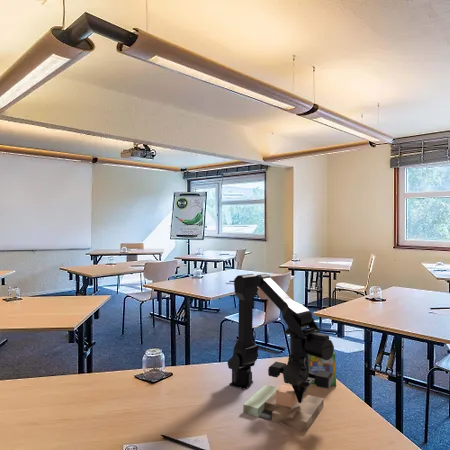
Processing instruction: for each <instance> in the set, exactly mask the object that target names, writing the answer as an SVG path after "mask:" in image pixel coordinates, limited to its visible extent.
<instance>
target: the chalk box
mask: <svg viewBox="0 0 450 450" xmlns="http://www.w3.org/2000/svg"><path fill="white" fill-rule="evenodd" d="M309 366H311V370H310V372H312V373H315V374H317V373H318V372H319V371H320V370H321V371H326V372H331V373H332V375H333V383H332V384H331V386H332V387H337V368H336V367H337V366H336V352H335V351H334V352H333V355H332V357H331V358H330V359H329V360H324V359H321V358H318V357H314V356H311V355H310V357H309ZM311 385H314V386H315V385H316V384H315V380H314V381H313V383H312V384H311ZM311 385H310V386H311ZM331 386H330V387H331Z"/></svg>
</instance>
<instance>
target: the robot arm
mask: <svg viewBox="0 0 450 450" xmlns="http://www.w3.org/2000/svg"><path fill="white" fill-rule="evenodd" d="M233 288H234V294H235V295H236V297H237V299H238V337H237V341H236V342H235V344H234V346H233V350H232V351H233V352H232V356H231V358H229V359H228V360H227V361H226V362H227V367H228V369H230V370H231V382H230V383H229V386H231V387H236V388H240V389H243V390H246V389H248V387H250V386H251V385H252V384H254V381H253V372H252V367H254V366H255V365H256V361H257V359H258V357H259V346H258V345H257V344H256V343H255V342H254V340H253V315H254V314H253V312H254V311H253V307H254V306H253V305H254V304H253V302H254V298H255V296H256V294H257V293H258V289H260V290H261V291H262V292H263V294H265V295H266V296H267V298H268V299H269V300H270V301H271V302H272V303H273V304H274V305H275V307H276V308H278V309H279V311H280V312H281V316H282V319H283V321H284V323H285V324H286V325H287V326H288V328H287V329H286V330H284V332H283V334H285V335H289V355H288V359H287V364H286V363H284V362H281V361H275V362H274V363H272V364H271V365H269V367H268V369H267V372H268V376H269V377H273V378H279V376H280V375H282V376H283V377H282V378H283V382H284V383H285V384H286V385H287V384H289V385H290V386H291V387H293V389H294V391H295V394H296V397H297V400H298V402H299V403H302V400H303V401H304V399H305V394H306V391H307V390H308V387H310V386H311V384H312V383H313V381H314V380H315V384H316V387H318V388H322V389H327V390H328V389H330V387H331V384H332V383H333V375H332V373H331V372H326V371H321V370H320V371H319V372H318V373H317V374H315V373H312V372H310V370H311V366H309V357H310V355H311V356H314V357H318V358H321V359H324V360H329V359H330V358H331V357H332V355H333V352H335V346H334V343H333V341H332V340H331V339H330V335H329V334H323V333H320V332H321V330H320V329H319V327H318V325H317V322H315V320H314V318H313V313H312V312H311V311H310V310H309V309H308V308H307V307H305V306H304V305H303V304H302V303H298V302H297V301H294V300H293V299H292V298H290V296H289V295H288V294H286V292H285V291H284V290H283V289H282V288H281V287H280V286H279V285H278V284H277V283H276V282H275V281H274V280H273V279H272V277H271V275H270V274H267V273H260V274H257V275H255V274H253V273H247V274H240V275H237V276H236V277H235V278H234V279H233ZM305 328H306V329H305Z"/></svg>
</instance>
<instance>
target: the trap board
mask: <svg viewBox="0 0 450 450" xmlns="http://www.w3.org/2000/svg"><path fill="white" fill-rule="evenodd" d="M278 388H279V387H277V386H273V385H269V384H264V385H263V386H262V387H261V388H260V389H258V390H257V392H255V393H254V394H253V395H252V396H251V397H249V399H247V400H246V401H245V402H244V403H243V406H242V407H243V409H242V410H243V411H242V412H243V413H244V414H248V415H250V416H255V417H256V418H257V417H258V418H261V419H264V420H267V421H271V422H274V423H277V424H280V425H281V424H282V425H284V426H288V427H290V428H294V429H298V430H301V431H303V432H308V431H309V429H310V427H311V426H312V424H313V423H314V422H315V420H316V419H317V417H319V416H318V415H319V414H320V412H321V411H322V409H323V408H324V404H325V403H324V398H322V397H318V396H314V395H310V394H307V395H306V397H304V398H303V400H302V403H299V402H298V400H297V402H296V403H295V404H294V405H293V407H292V408H291V407H287V406H283V405H280V404H276V390H277V389H278Z"/></svg>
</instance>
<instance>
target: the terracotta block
mask: <svg viewBox="0 0 450 450" xmlns="http://www.w3.org/2000/svg"><path fill="white" fill-rule="evenodd" d="M296 402H297V397H296V394H295V391H294V389H293V387H292V385H287V384H282V383H281V385H280V386H279V387H278V389H277V390H276V404H280V405H283V406H287V407H291V408H292V407H293V405H294V404H295V403H296Z"/></svg>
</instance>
